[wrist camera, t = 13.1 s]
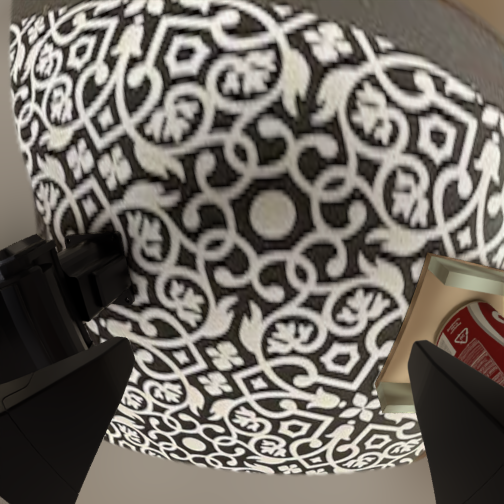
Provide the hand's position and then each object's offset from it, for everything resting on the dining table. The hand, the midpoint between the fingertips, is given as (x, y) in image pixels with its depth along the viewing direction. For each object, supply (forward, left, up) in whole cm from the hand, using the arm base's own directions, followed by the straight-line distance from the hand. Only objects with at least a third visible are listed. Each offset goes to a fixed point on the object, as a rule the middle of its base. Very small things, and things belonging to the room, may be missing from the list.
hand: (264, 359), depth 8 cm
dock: (+16, -9, -13) cm, 22 cm away
